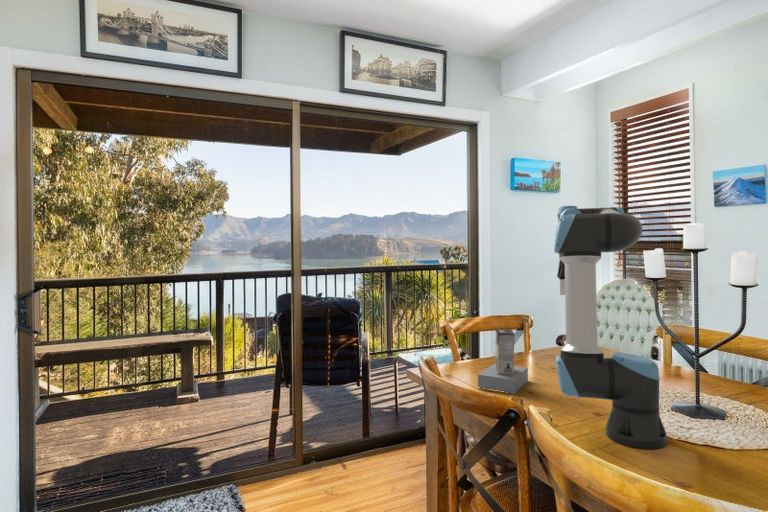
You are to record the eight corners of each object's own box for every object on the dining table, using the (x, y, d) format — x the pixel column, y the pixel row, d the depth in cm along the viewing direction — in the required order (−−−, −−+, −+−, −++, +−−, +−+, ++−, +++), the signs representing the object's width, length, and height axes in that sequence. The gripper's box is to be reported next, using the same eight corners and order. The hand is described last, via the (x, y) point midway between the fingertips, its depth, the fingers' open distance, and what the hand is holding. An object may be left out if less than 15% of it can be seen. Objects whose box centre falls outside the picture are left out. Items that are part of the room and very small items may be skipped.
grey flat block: (513, 395, 167) (513, 379, 167) (478, 389, 174) (477, 374, 174) (527, 382, 184) (527, 367, 184) (494, 377, 191) (494, 363, 191)
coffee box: (494, 367, 183) (495, 328, 183) (510, 368, 183) (511, 329, 182) (497, 374, 174) (498, 333, 174) (514, 374, 173) (515, 333, 173)
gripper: (589, 243, 169) (589, 299, 169) (567, 244, 194) (567, 293, 194) (569, 243, 169) (569, 299, 170) (549, 244, 194) (549, 293, 194)
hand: (568, 296), depth 182 cm, fingers open, 13 cm apart
